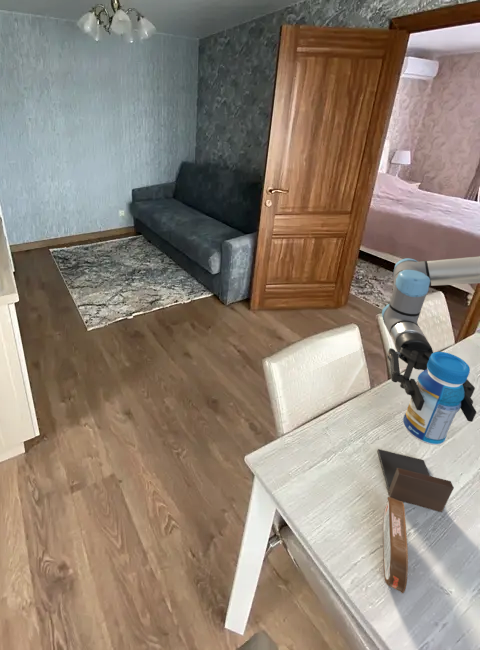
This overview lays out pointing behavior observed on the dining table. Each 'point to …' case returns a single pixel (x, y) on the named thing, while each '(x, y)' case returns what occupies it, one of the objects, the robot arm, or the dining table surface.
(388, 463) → the dock
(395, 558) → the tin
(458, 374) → the blue capped bottle
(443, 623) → the dining table surface
